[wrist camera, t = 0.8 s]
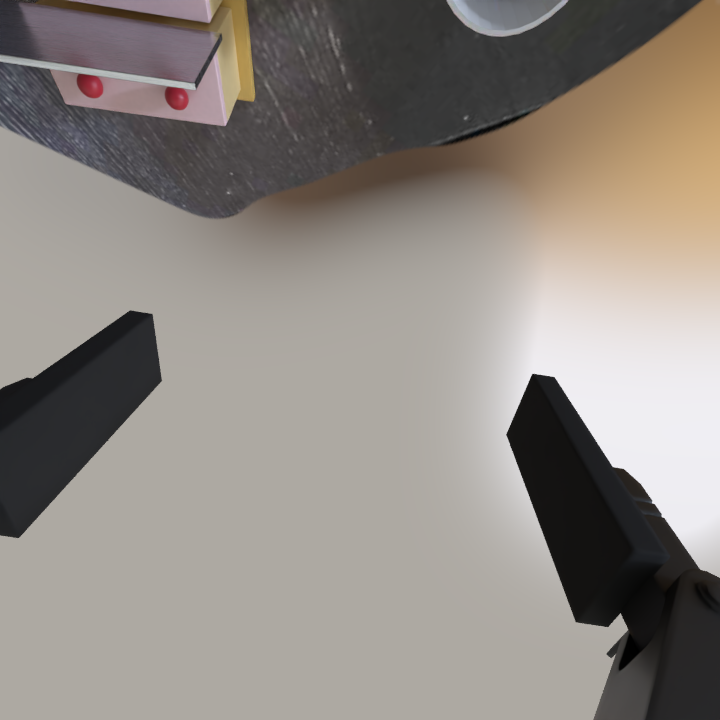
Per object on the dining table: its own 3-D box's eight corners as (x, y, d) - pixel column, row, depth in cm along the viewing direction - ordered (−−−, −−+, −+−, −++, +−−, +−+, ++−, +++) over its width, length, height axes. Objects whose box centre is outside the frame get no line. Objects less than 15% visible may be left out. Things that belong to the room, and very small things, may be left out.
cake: (93, 73, 35) (48, 126, 30) (-12, -200, 23) (-113, -183, 19) (255, 96, 36) (236, 151, 31) (232, -151, 24) (196, -124, 20)
